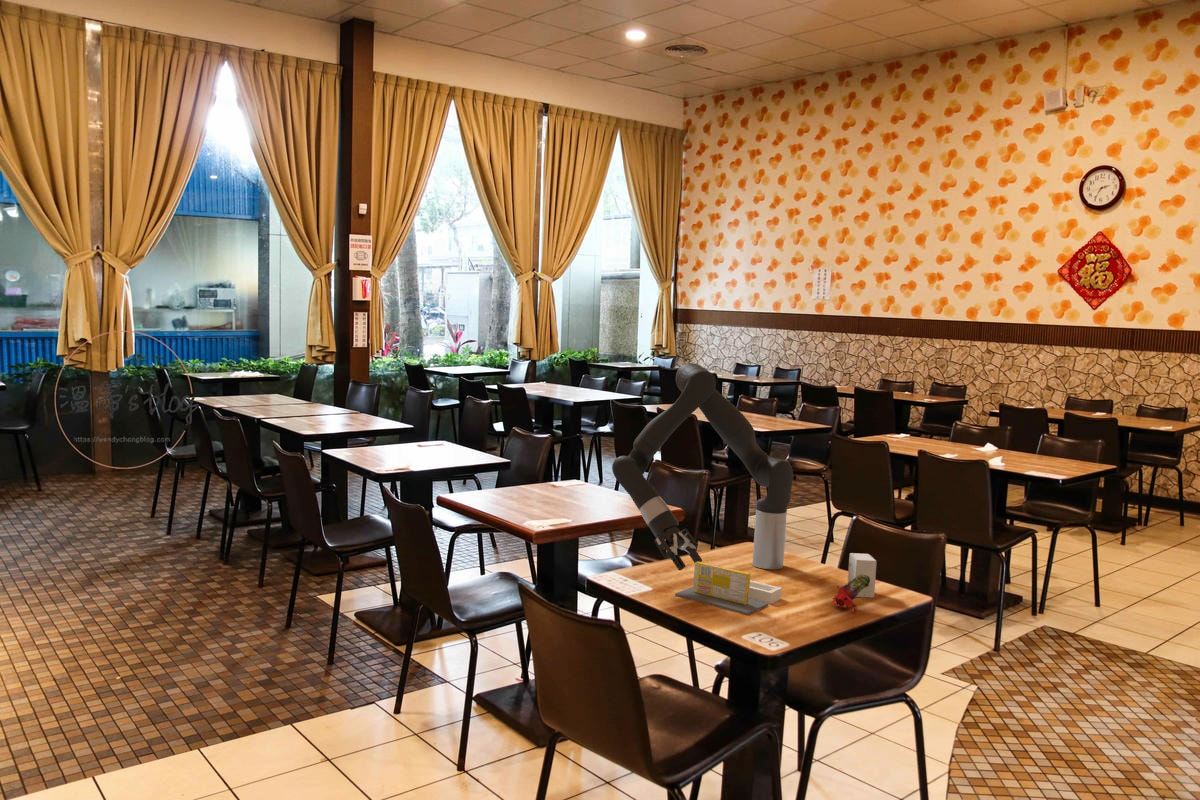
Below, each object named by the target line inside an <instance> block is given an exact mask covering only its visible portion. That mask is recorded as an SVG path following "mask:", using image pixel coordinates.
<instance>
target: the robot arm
mask: <svg viewBox="0 0 1200 800" xmlns="http://www.w3.org/2000/svg"><path fill="white" fill-rule="evenodd" d="M675 383H676V386H677V388H678V389H679V391H680V392H681V394H680V395H679V397H678V398H677V399H676V401H675V402H674V403H672V405H671V406H669V407H668V408H667V409H666V410H664V411H663V412H661V413H660V414H658V415H657V416H655V417H654V418H653V419H651V420H650V421H649V422H648V423H647V424H646V425H645V426H644V428H643V429H642V431H641V432H640V433H639V434H638V435H637V437H636V438H635V439H634V441H633V445H632V446H633V448H632V449H631V451H630V452H629V454H628V455H620V456H618V457H617V458H615V459H614V460H613V462H612V466H611V469H612V473H613V475H614V477H615V479H616V480H617V482H618V483H619V484H620V486H621V487H622V488H623V489H624V490H625V492H626V493H627V494H628V495H629V496H630V498H631V500H632V501H633V503H634V505H635V506H636V508H637V509H638V511H639V512H640V514H641V516H642V518H643V520H644V522H645V523H646V525H647V526H648V528H649V529H650V530H651V533H652V534H653V535H654V537H655V539H654V543H655V546H656V547H657V549H658V551H660V553H661V555H662V557H663V558H664V559H668V560H671V561H672V562H673V564H674V565H675V568H676V569H678V571H682V570H684V569H685V568H686V564H685V562H684V561H683V559H682V558H681V556H680V555H679V554H678V550H681V551H685V552H687V554H688V555H689V556H690V558H691V560H692V561H693V563H694V564H695V562H702V563H703V559H702V557H701V556H700V554H699V552H698V551H697V549H696V548H697V547H699V544H698V543H697V541H696V540H695V538H694V537H693V536H692V533H690V531H689V530H688V529H687V528H684V529H682V530H680V529H679V528H678V527H679V524H680V523H679V520H678V519H677V517H676V516H675V514H673V512H672V510H671V509H670V507H669V506H668V505H667V503H666V502H665V500H664V499H663V498H662V497H661V495H660V494H659V492H658V491H657V490H656V488H655V487H654V486H653V484H652V483H651V482H649V480H647V479H646V477H645V476H644V474H645V472H646V470H647V469H648V467H649V465H650V464H651V462H652V459H653V457H654V456H655V455H656V454H657V452H658V451H659V450H660V449H661V448H662V446H663V445H664V444H665V442H666V441H667V440H668V439H669V437H671V435H672V434H673V433H674V432H675V431H676V430H677V429H678V427H680V426H681V424H682V423H683V422H685V421H686V420H687V419H688V418H689V417H690V416H691V415H692V414H693V413H694V412H695V411H696V410H697V409H698V408H699V410H700V411H701V412H702V414H703V415H704V417H705V418H706V419H707V421H708V422H709V424H710V425H711V427H712V428H713V429H714V430H715V432H716V433H717V434H718V435H719V437H720V438H721V439H722V440H723V441H724V442H725V444H726V445H727V446H728V447H729V448H730V450H732V452H733V453H734V454H735V456H737V457H738V458H739V460H740V461H741V462H742V463H743V464H744V466H745V468H746V470H747V471H748V472H749V473H750V475H751V476H752V478H753V480H754V481H755V482H756V483H757V484H758V485H760V486H761V487H764V488H767V492H766V493H767V494H766V496H765V497H762V498H758V500H756V506H755V521H754V535H753V550H752V551H753V552H752V563H751V564H752V566H754V567H755V568H760V569H764V570H781V569H783V568H784V561H785V560H784V559H785V546H786V545H785V543H786V529H787V514H788V506H789V504H790V501H791V497H792V489H793V482H794V481H793V480H794V479H793V478H794V471H793V468H792V465H791V463H790V462H789V461H787V460H784V459H781V458H777V457H776V458H775V457H772V456H770V455H768V454H767V453H766V452H765V451H763V449H762V448H761V447H760V446H759V445H758V443H757V438H756V432H755V429H754V427H753V425H752V424H751V423H750V421H749V420H748V418H747V417H746V416H745V415H744V414H743V413H742V412H741V411H740V410H739V409H738V408H737V407H736V406H735V405H734V404H733V403H732V402H731V401H730V400H728V399H727V398H726V397H724V395H722V394H721V393H720V392H719V391H718V390H717V389H716V385H717V382H716V377H715V376H714V374H713V373H712V372H711V371H710V370H708V369H706V368H704V367H703V366H701V365H700V364H698V363H692V362H690V363H689V362H688V363H684V364H682V365H681V366H679V368H678V369H677V371H676V373H675Z"/></svg>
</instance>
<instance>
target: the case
mask: <svg viewBox="0 0 1200 800" xmlns="http://www.w3.org/2000/svg"><path fill="white" fill-rule="evenodd" d="M782 594H783V587H779V586H776V585H772V584H771V585H770V584H767V583H763V582H760V581H754V580H751V579H750V587H749V599H753V600H757V601H761V602H764V603H768V605H771V604H773V603H776V602H779V601H780V600H782V596H783V595H782Z"/></svg>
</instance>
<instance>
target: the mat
mask: <svg viewBox="0 0 1200 800" xmlns="http://www.w3.org/2000/svg"><path fill="white" fill-rule="evenodd" d="M674 596H675V597H679V598H682V599H686V600H691V601H694V602H697V603H701V604H705V605H709V606H713V607H715V608H720V609H724V610H727V611H731V612H735V613H739V614H741V615H742V614H743V615H745V616H748V615H752V614H753V613H756V612H758V611H759V610H763V609H765V608H766V607H768V606H769V604H768V603H765V602H761V601H757V600H753V599H749V600H748V604H747V605H743V604H739V603H735V602H731V601H727V600H724V599H720V598H716V597H712V596H708V595H704V594H700V593H696V592H693V586H691V587H689V588H687V589H683V590H680V591H678V592H675V593H674Z"/></svg>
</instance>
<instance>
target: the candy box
mask: <svg viewBox="0 0 1200 800" xmlns="http://www.w3.org/2000/svg"><path fill="white" fill-rule="evenodd" d="M693 571H694V572H693V585H692V587H693V592H696V593H700V594H704V595H708V596H712V597H716V598H720V599H724V600H727V601H731V602H735V603H739V604H743V605H747V604H748V600H749V587H750V580H751V574H752V573H750V572H746V571H742V570H738V569H732V568H730V567H723V566H720V565H716V564H711V563H705V562H703V561H702V562H695V563H694V570H693Z"/></svg>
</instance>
